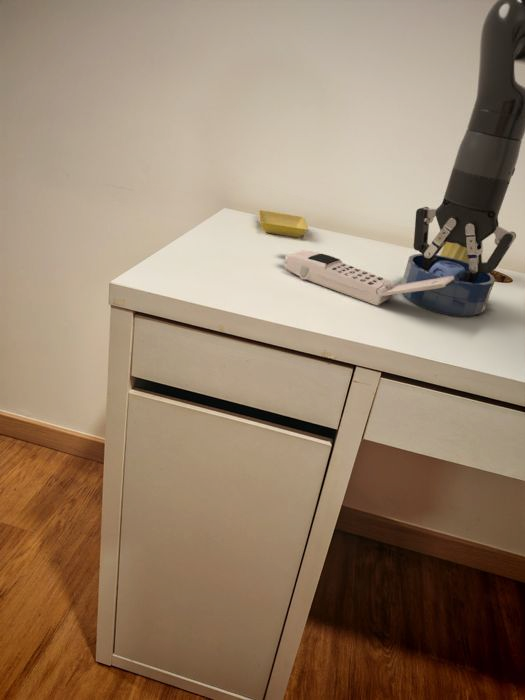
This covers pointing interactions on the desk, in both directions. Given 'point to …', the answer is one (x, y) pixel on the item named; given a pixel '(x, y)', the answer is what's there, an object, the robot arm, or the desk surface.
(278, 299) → the desk surface
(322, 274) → the mobile phone
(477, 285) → the bowl
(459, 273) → the decorative dice
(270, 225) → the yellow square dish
